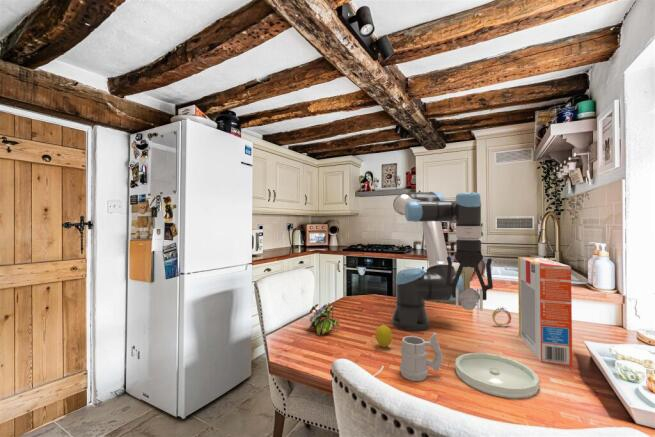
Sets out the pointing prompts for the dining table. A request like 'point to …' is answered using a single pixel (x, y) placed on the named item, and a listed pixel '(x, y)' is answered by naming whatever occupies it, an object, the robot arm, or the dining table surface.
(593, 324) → the dining table surface
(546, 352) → the cereal box
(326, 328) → the leafy green plant
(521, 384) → the groove dish
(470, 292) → the grey round lump
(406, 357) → the mug
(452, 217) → the robot arm
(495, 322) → the ring
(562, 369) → the dining table surface
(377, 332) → the lemon
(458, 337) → the dining table surface
